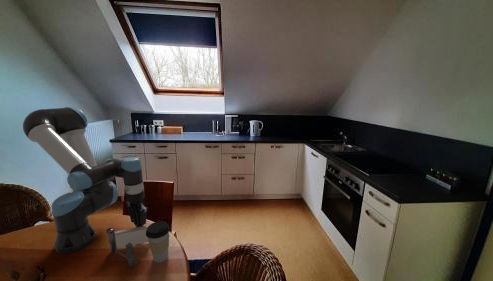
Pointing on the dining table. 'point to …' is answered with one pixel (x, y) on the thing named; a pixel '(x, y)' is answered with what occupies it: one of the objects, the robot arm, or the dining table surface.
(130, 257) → the post
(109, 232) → the hinge post
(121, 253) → the bar
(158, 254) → the coffee cup
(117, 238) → the gate
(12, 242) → the dining table surface
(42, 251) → the dining table surface
